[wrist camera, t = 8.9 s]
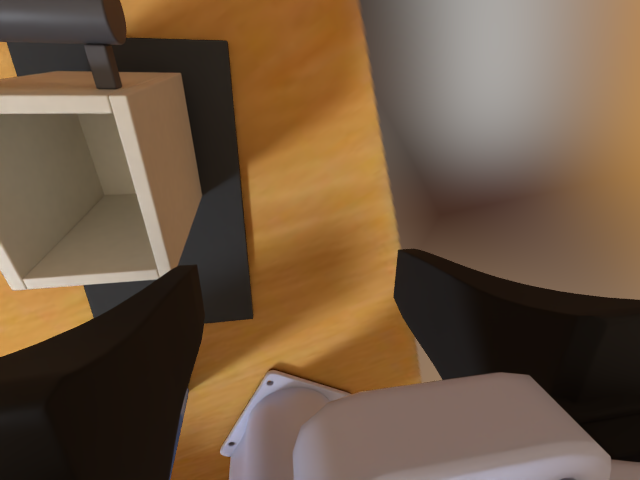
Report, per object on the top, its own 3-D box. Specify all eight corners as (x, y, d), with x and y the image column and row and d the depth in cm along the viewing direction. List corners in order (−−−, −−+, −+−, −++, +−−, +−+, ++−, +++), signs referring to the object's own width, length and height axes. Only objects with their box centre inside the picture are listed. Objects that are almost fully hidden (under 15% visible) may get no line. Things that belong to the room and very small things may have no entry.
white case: (173, 278, 13) (93, -33, 8) (11, 291, 12) (-191, -50, 7) (202, 195, 19) (168, 2, 15) (101, 200, 18) (29, -5, 14)
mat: (253, 315, 23) (253, 319, 23) (101, 330, 22) (98, 334, 22) (227, 41, 17) (227, 40, 17) (9, 35, 15) (3, 34, 15)
